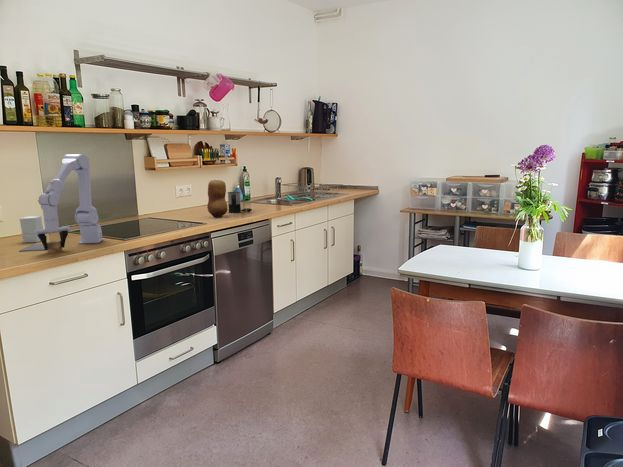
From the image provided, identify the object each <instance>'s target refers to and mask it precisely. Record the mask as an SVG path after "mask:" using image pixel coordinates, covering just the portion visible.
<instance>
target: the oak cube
mask: <svg viewBox="0 0 623 467" xmlns="http://www.w3.org/2000/svg"><path fill="white" fill-rule="evenodd" d="M47 247H48V250H46V251H47V254H53V253H54V254H55V253H61V252H62V251H63V248H62V244H61V240H50V241H48V242H47Z"/></svg>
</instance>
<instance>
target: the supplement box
mask: <svg viewBox="0 0 623 467" xmlns="http://www.w3.org/2000/svg"><path fill="white" fill-rule="evenodd" d="M19 223H20V229H21V235H22V242H23V243H24V244H25V243H38V242H41V240H40V239H39V237H38V236H37V235H34V231H37V230H42V229H44V226H43V224H44V223H43V219H42V215H36V216H35V215H34V216H33V215H32V216H30V215H29V216H24V217H21V218H19Z"/></svg>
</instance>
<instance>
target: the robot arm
mask: <svg viewBox="0 0 623 467" xmlns="http://www.w3.org/2000/svg"><path fill="white" fill-rule="evenodd" d="M61 163H62V165H61V166H60V169H59V171H58V173H57V175H56V177H55V178H54V179H51V180H50V181H49V184H48V186H47V187H46V189H45V191H44V192H42V193H41V194H40V195H39V197H38V199H37V203H38V204H39V205H40V208H41V210H42V216H43V224H44V228H43V229H42V230H37V231H34V235H37V236H38V237H39V239H40V240H41V241H40V242H41V244H43V246H44V249H45V250H44V251H47V250H48V247H47V243H48V242H47V240H48V239H47V238H48V236H47V235H48V234H56V233H58V234H59V238H60V241H61V244H62V249H63V248H65V247H66V246H65V245H66V240H67V237H68V236H69V232H71V227H70V226H61V227H60V224H59V222H60V221H59V215H58V204H59V203H60V197H61V194H62V191H63V190H64V188H65V183H64V182H65V181H66V179H68V177H69V175H70V173H71V172H72V171H74V172H75V173H76V174H77V178H78V180H77V182H78V183H77V184H78V198H79V205H78V207H76V209H75V215H74V221H75V222H76V223H77V224H78V226H79V232H80V241H79V242H78V244H81V245H82V244H99V243H100V242H102V241H103V232H102V227H101V224H97V223H98V222H99V214H98V209H97V208H96V207H95V206H93V205H92V204H93V203H92V185H91V184H92V183H91V181H92V180H91V169H90V158H89V157H88V156H87V155H86V154H83V153H79V154H78V153H76V154H74V153H73V154H69V153H68V154H67V153H66V154H65V155H64V156H63V158H62V159H61Z"/></svg>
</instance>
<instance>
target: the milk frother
mask: <svg viewBox="0 0 623 467" xmlns="http://www.w3.org/2000/svg"><path fill="white" fill-rule="evenodd" d="M226 193H227V198H228V199H227V202H228V204H227V207H228V213H229V214H238V213H242V212H244V213H246V212H247V213H251V212H252V211H253V209H252V208H243V209H242V208H241V194H240V193H241V191H228V192H227V191H226Z"/></svg>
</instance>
